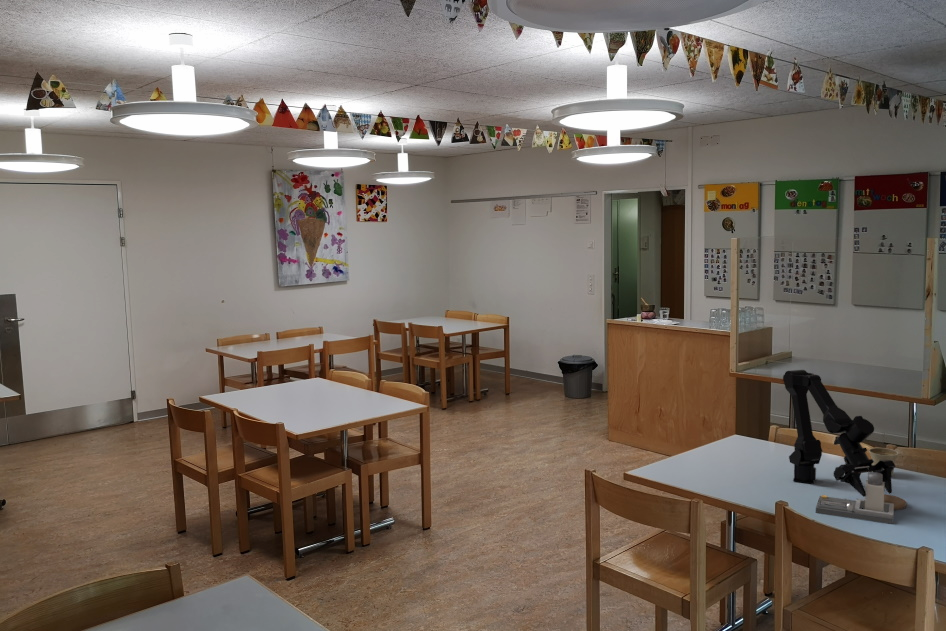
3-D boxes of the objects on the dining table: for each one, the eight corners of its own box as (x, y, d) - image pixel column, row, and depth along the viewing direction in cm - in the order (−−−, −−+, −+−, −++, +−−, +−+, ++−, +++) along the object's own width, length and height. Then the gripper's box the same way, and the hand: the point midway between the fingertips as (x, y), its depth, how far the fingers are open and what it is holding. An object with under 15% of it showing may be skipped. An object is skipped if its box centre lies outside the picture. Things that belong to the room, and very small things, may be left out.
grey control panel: (815, 512, 234) (815, 504, 234) (819, 500, 244) (820, 492, 244) (892, 524, 223) (893, 515, 223) (893, 510, 234) (894, 502, 233)
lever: (817, 512, 234) (817, 500, 234) (818, 510, 236) (818, 498, 235) (852, 517, 229) (853, 504, 229) (853, 515, 231) (853, 503, 230)
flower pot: (895, 480, 261) (896, 456, 260) (865, 476, 266) (866, 452, 266) (899, 473, 268) (900, 450, 267) (870, 469, 274) (871, 446, 273)
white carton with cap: (864, 516, 230) (865, 475, 229) (865, 510, 235) (866, 470, 233) (883, 518, 228) (884, 477, 226) (883, 513, 232) (884, 472, 231)
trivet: (866, 506, 238) (866, 502, 238) (868, 495, 247) (868, 492, 247) (905, 511, 232) (906, 508, 232) (906, 500, 242) (906, 497, 242)
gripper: (864, 459, 247) (889, 503, 237) (815, 464, 243) (838, 509, 233) (883, 442, 238) (909, 487, 229) (832, 447, 234) (856, 493, 225)
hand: (877, 494), depth 229 cm, fingers open, 9 cm apart
